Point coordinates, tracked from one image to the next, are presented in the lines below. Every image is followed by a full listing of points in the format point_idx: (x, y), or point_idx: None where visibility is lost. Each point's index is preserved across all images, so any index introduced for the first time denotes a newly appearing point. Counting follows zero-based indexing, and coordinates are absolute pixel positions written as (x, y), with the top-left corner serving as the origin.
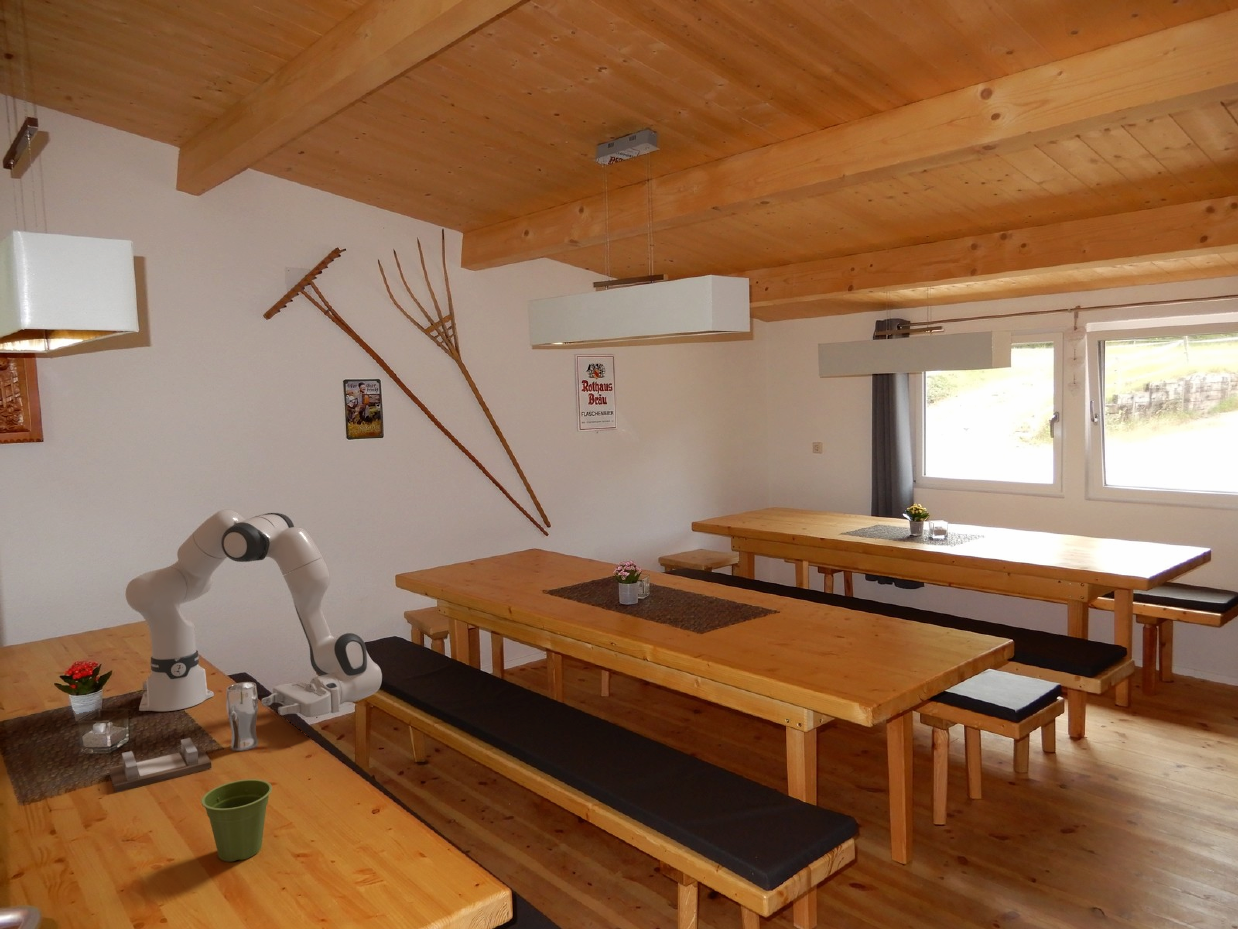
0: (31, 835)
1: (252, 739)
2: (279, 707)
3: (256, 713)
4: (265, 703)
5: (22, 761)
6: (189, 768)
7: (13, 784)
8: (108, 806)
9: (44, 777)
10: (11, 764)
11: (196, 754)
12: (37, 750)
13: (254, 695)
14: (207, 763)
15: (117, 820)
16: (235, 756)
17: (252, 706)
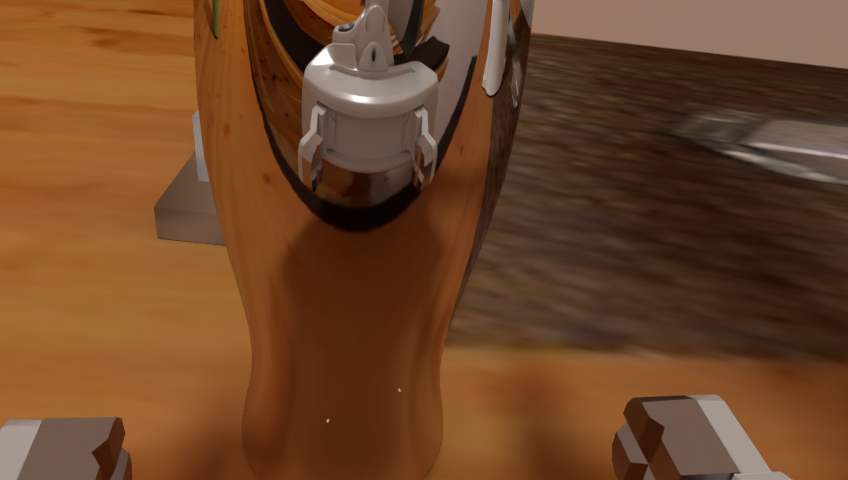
0: (176, 2)
1: (253, 405)
2: (87, 419)
3: (251, 254)
4: (628, 445)
5: (707, 60)
6: (190, 161)
7: (540, 35)
8: (176, 60)
9: (546, 55)
10: (695, 51)
11: (196, 130)
12: (787, 79)
13: (212, 17)
14: (161, 198)
15: (44, 50)
16: (212, 344)
17: (204, 125)
